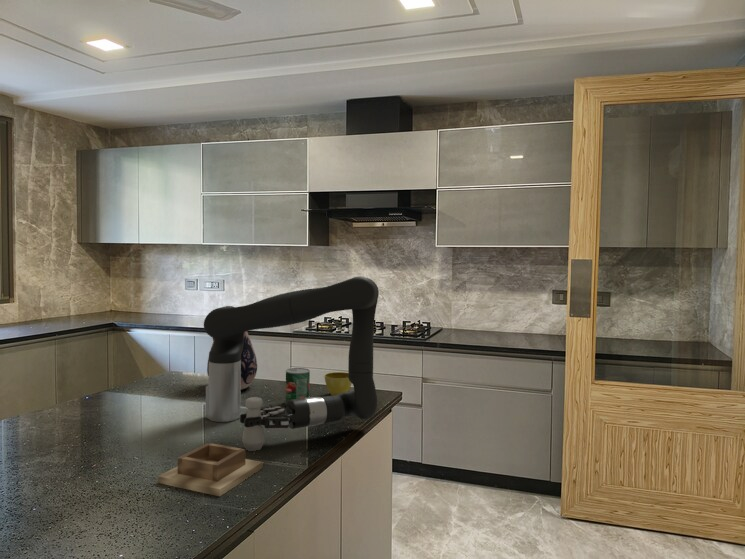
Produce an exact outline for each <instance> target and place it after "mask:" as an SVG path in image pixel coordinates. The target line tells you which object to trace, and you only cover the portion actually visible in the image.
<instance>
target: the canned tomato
mask: <svg viewBox="0 0 745 559" xmlns="http://www.w3.org/2000/svg"><path fill="white" fill-rule="evenodd" d="M310 373H311V371H310V369H308V368H305V367H291V368H287V369H285V402H284V403H285V405H286V403H287V401H288V400H292V399H300V398H309V397H310V390H311V389H310V387H311V386H310V378H311V376H310Z"/></svg>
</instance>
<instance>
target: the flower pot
mask: <svg viewBox="0 0 745 559" xmlns="http://www.w3.org/2000/svg"><path fill="white" fill-rule="evenodd" d="M323 377H324V381H325V385H326V388H327V390H328V392H329V394H330V396H335V395H338V394H341V393H345V392H349V391H350V389H351V386H352V385H353V384H352V383H351V382H350V381H349V377H348V372H343V371H342V372H341V371H335V372H334V371H333V372H327V373H325V374H324V375H323Z"/></svg>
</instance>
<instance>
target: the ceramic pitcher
mask: <svg viewBox="0 0 745 559" xmlns="http://www.w3.org/2000/svg"><path fill="white" fill-rule="evenodd" d="M248 332H249V331H246V332H244V343H243V350H242V353H241V391H242V390H244V389H247V388H248V387H249V386H250V385H251V384H252V383H253V381H254V380H255V378H256V375H257V372H258V360H257V357H256V356H257V355H256V353H255V350H254V347H253V343H252V341H251V337H250V336H249V333H248ZM211 338H212V341H213V342H212V344H211V347H210V350H211V349H212V347H213V344H214V338H213V337H211ZM206 371H207V372H206V374H207V377H209V357H207V367H206Z"/></svg>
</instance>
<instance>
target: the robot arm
mask: <svg viewBox="0 0 745 559" xmlns="http://www.w3.org/2000/svg"><path fill="white" fill-rule="evenodd" d="M379 293H380V291H379V287H378V285H377V283H376V282H375V281H374V280H372V279H371V278H368V277H366V276H359V275H358V276H354V277H351V278H348V279H346V280H343V281H341V282H337V283H333V284H331V285H327V286H323V287H316V288H307V289H300V290H293V291H289V292H288V291H287V292H285V293H281V294H277V295H274V296H270V297H268V298H264V299H261V300H257V301H256V302H253V303H250V304H246V305H241V306H232V305H231V306H230V305H225V306H222V307H218V308H215V309H212V310H211V311H210V312H209V313H208V314H207V315H206V316H205V318H204V321H203V329H204V331H205V333H206V334H207V335H208V336H209V337H211V338H212V337H213V338H214V344H213V343H212V344H213V347H212V346H211V347H212V349H211V348H210V350H209V352H208V358H209V376H208V385H206V386H205V419H208V420H209V421H212V422H216V423H217V422H219V423H227V422H233V421H237V420H239V422H240V423H241V424H243V427H244V426H245V427H253V426H256V425H258V426H259V425H260V426H261V427H263V428H264V429H288V428H290V429H292V430H294V429H295V430H296V429H301V428H307V427H314V426H315V427H316V426H319V425H321V424H326V423H327V424H328V423H333V422H334V423H335V422H338V421H341V420H342V419H343V418H344V417H349V416H350V417H355V418H359V419H361V420H370V419H371V418H372V417H374V415H375V414H376V412H377V409H378V395H377V390H376V384H375V380H374V330H375V329H374V327H375V317H376V310H377V304H378V300H379ZM341 311H351V313H352V314H351V316H352V331H351V337H350V343H349V348H348V349H349V350H348V367H347V368H348V372H347V373H348V377H349V381H350V382H351V383H352V384H351V385H352V386H353V390H351V391H350V390H349V391H348V392H345V393H341V394H338V395H335V396H331V395H326V396H325V395H324V396H309V398H300V399H292V400H288V401H287V403H286V404H285V406H284V407H282V406H274V405H272V404H269V405H265V406H262V407H261V408H260V410H261V416H260V418H259V416H258V417H249V418H246V415H247V412H246V413H241V393H242V392H241V391H242V390H241V353H242V350H243V343H244V332H246V331H247V332H249V331H254V330H255V331H256V330H262V329H271V328H279V327H284V326H285V327H286V326H291V325H295V324H300V323H303V322H304V323H305V322H307V321H310V320H313V319H316V318H318V317H321V316H324V315H326V314H329V313H334V312H341ZM213 338H212V339H213ZM273 406H274V407H273Z"/></svg>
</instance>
